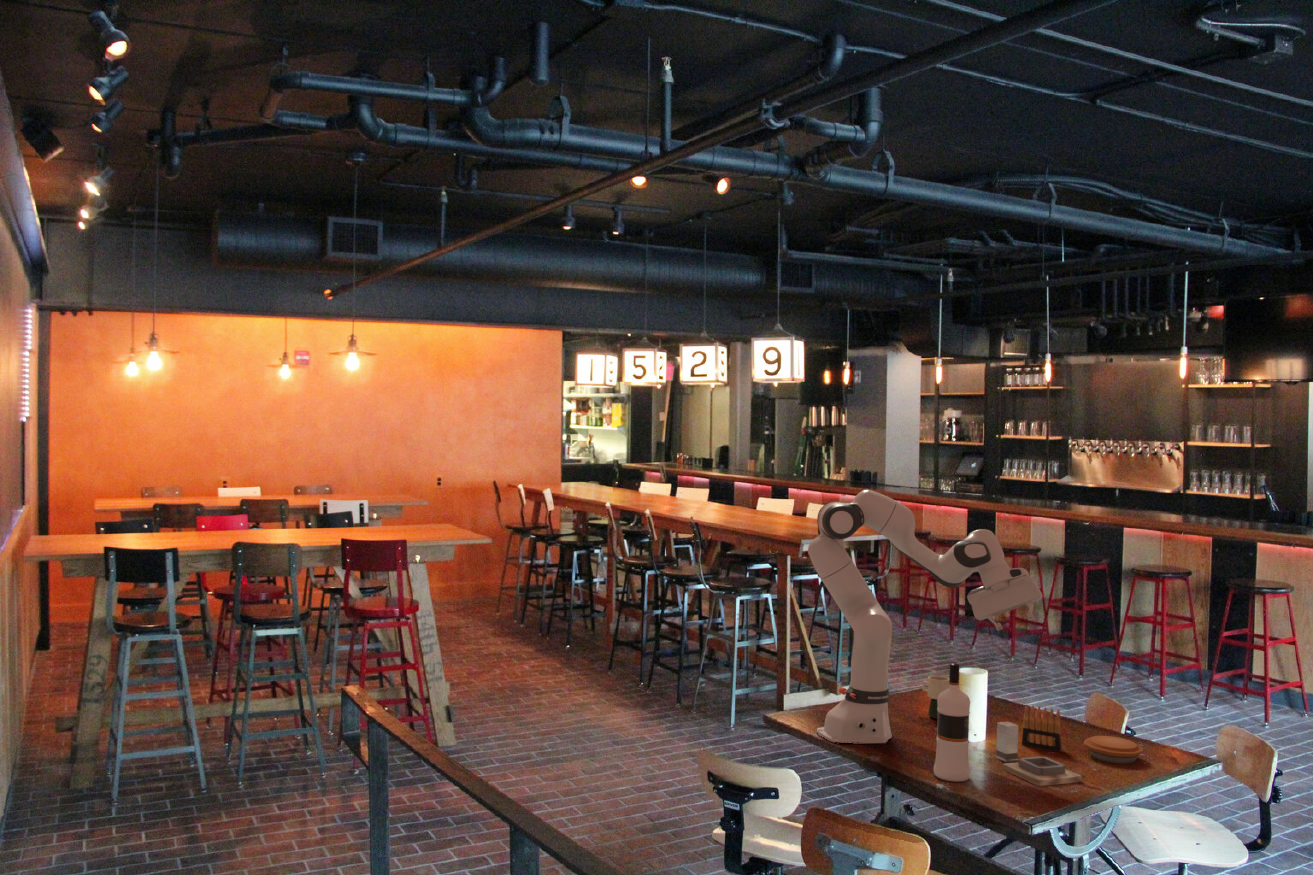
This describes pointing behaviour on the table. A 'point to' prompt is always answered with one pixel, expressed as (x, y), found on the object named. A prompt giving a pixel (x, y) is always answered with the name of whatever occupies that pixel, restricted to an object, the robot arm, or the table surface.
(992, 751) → the table surface
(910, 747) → the table surface
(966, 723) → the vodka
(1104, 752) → the pie
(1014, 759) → the grey rectangular block
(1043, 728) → the ammunition clip
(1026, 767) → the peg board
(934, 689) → the character mug
